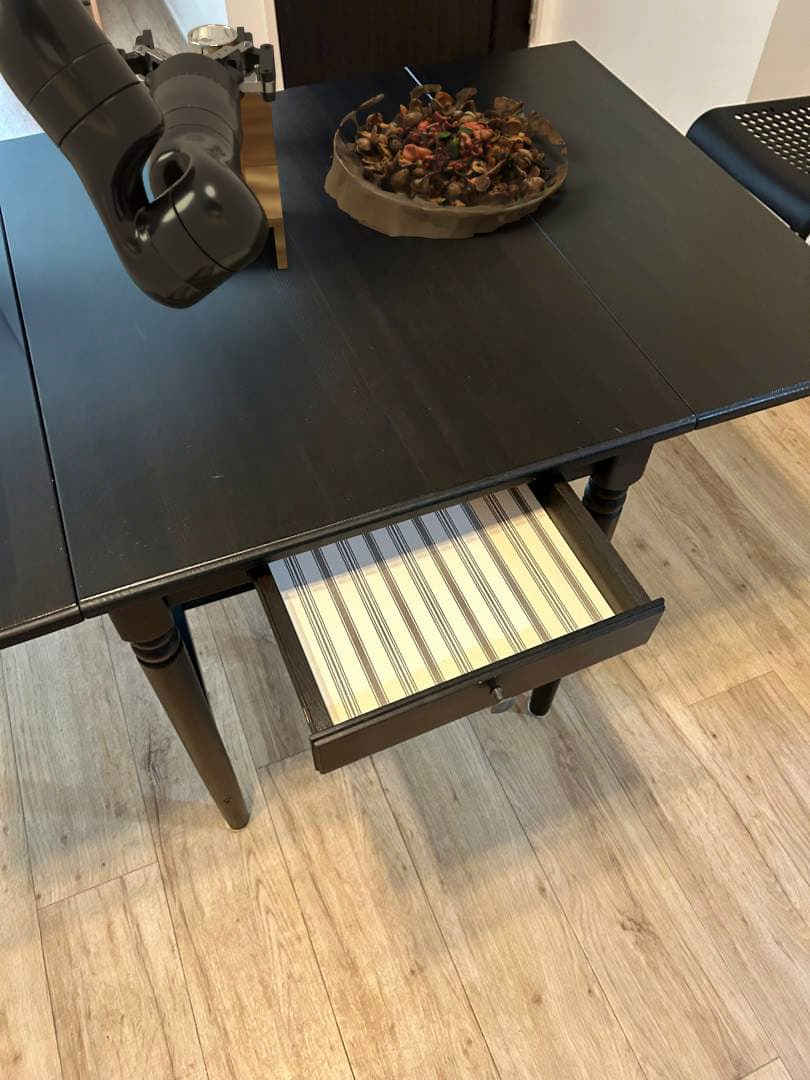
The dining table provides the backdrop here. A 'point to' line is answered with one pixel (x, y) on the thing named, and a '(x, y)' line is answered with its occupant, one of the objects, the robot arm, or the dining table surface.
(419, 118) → the food dish
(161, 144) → the robot arm
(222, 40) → the silver metal cylinder
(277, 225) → the miniature wooden chair
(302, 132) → the dining table surface
